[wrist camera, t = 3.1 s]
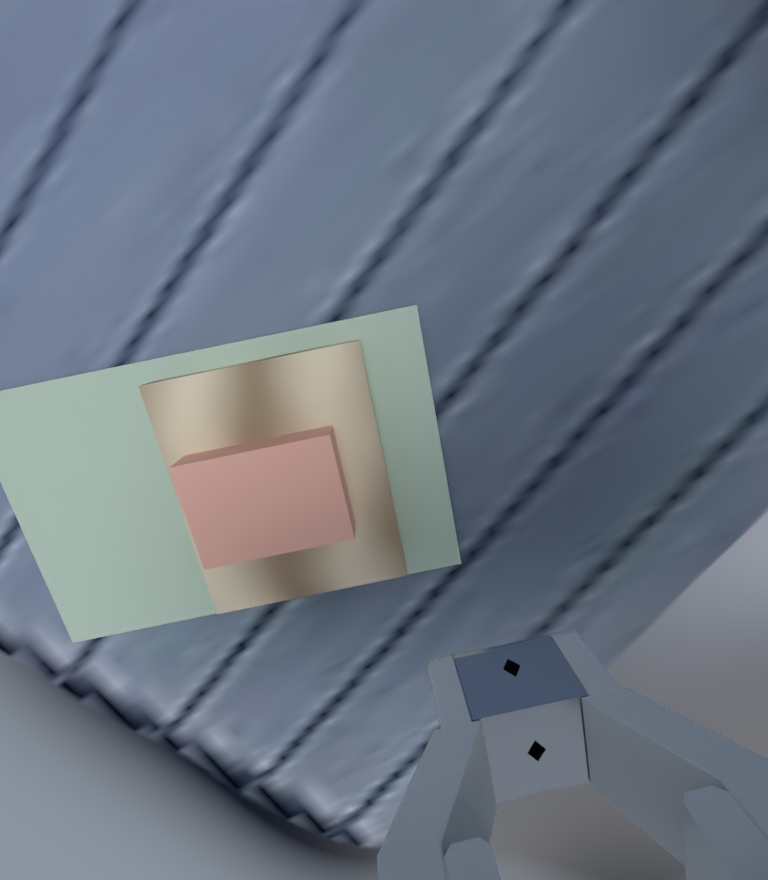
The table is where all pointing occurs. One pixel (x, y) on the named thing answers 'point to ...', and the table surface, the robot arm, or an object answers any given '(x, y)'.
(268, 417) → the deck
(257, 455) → the tile
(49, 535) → the mat
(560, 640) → the robot arm
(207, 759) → the table surface
